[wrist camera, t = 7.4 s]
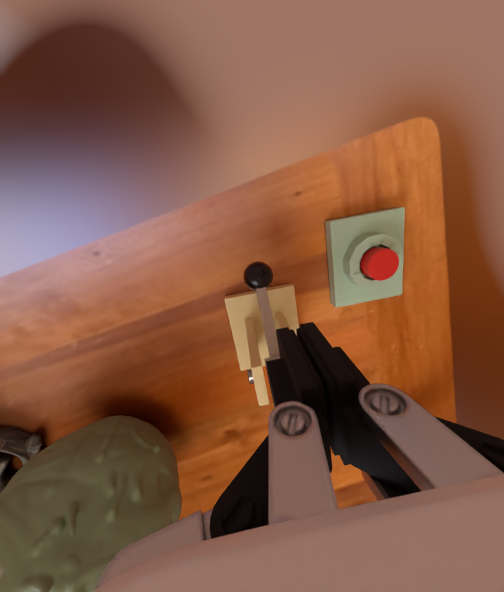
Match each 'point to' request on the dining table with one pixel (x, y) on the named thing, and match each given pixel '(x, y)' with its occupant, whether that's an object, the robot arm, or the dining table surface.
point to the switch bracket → (259, 329)
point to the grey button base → (354, 244)
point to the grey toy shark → (16, 449)
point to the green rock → (85, 505)
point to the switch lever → (263, 303)
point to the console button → (379, 263)
